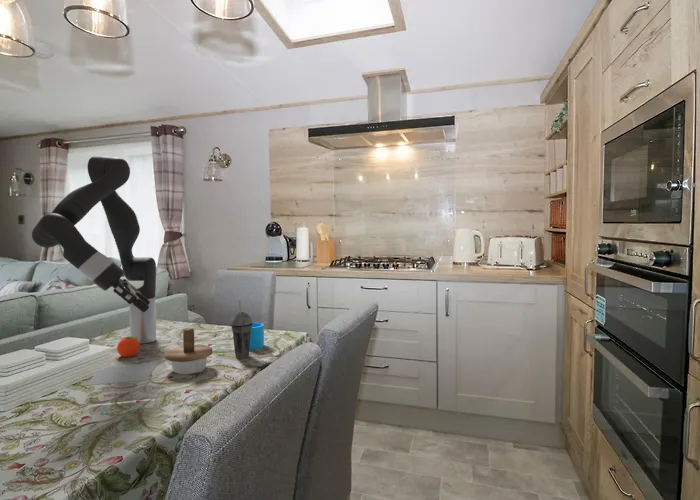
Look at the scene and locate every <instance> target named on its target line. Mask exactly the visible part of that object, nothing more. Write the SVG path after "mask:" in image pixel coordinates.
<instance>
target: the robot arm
mask: <svg viewBox="0 0 700 500" xmlns="http://www.w3.org/2000/svg"><path fill="white" fill-rule="evenodd" d="M87 174H88V176H89V179H90V181H91V182H90V183H87V184H85V185H83V186H80V187H78V188H77V189H74V190H72V191H71V192H70V193H68V194H67V195H65V196H64V198H62V200H61V201H60V202H59V203H57V205H56V206H55V207H54V209H53V210H52V211H51V212H50V213H47V214H44V215H43V216H42V217H41V218H40V219H39V220H38V222H37V223H36V225H35V226H34V227H33V228H32V231H31V238H32V240H33V242H34V243H35V244H36V245H37V246H39V247H43V248H52V247H55V246H58V245H60V247H62V249H63V253H62V257H63V258H64V259H65V260H66V261H67V262H68V263H70V265H72V266H73V267H75V268H76V269H77V270H78V271H79V272H80V273H81V274H82V275H83V276H85V278H87V279H88V280H90V281H91V282H92V283H94V284H95V285H96V286H97V287H99V288H100V289H101V290H102V291H105V292H106V291H108V290H109V289H110V288H113V290H112V291H113V293H114V294H116V295H118V296H119V297H120V298H121V299H123V300H124V301H125V302H126V303H127V304H128V305H129V309H128V311H129V337H133V338H135V337H137V339H138V342H139V344H140V345H141V344H148V343H152V342H154V341H157V314H156V313H157V312H156V310H157V309H156V288H157V286H156V285H157V284H156V281H157V263H156V260H155V259H154V258H153V257H150V256H148V257H143V256H140V257H138V256H137V257H135V256H134V254H133V247H134V245H135V244H136V241H137V240H138V237H139V235H140V232H141V231H140V230H141V228H140V223H139V220H138V217H137V214H136V213H135V211H134V210H133V208H132V207H131V206H130V204H129V203H127V202H126V201H125V200H124V199H123V198H122V197H121V196H120V195H119V193H118V192H117V191H116V190H118V189H119V188H121V187H123V186H124V185H125V184H127V182H128V180H129V178H130V175H131V168H130V165H129V163H128V162H127V160H126V159H124V158H120V157H117V156H105V155H95V156H91V157H90V158H89V160H88V161H87ZM99 203H101V206H102V208H103V210H104V214H105V216H106V219H107V223H108V226H109V229H110V232H111V234H112V237H113V239H114V243H115V245H116V248H117V252H118V255H119V259H120V264H121V267H120V266H119V265H118V264H117V263H115V262H114V261H113V260H111V259H110V258H109V257H107V256H106V255H105V254H103V253H101V252H100V251H99V250H98V249H96V248H95V247H94V246H92V244H90V243H89V242H88V241H87V240H86V239H85V238H84V237H83V234H82V233H81V232H80V231H79V230H78V229H77V227H76V225H77V224H78V223H79V222H80V221H81V220H83V218H84V217H85V216H86V215H87V214H88V213H89V212H90V211H91V210H92V209H93V208H94V207H95V206H96V205H97V204H99ZM122 276H124V277H125V278H123V279H122V278H121V277H122ZM130 281H131V282H136V281H137V282H141V281H142V282H143V284H142V285H141V286H140V287H139V288H136V286H134V285H133V284H131V282H130ZM135 339H136V338H135Z"/></svg>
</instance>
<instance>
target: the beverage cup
mask: <svg viewBox="0 0 700 500" xmlns="http://www.w3.org/2000/svg"><path fill="white" fill-rule="evenodd" d="M238 307H239V312H238V313H236V314H235V315H233V317H232V319H231V324H230V327H231V331H232V337H233V339H232V340H233V346H234V354H235V358H236V359H239V360H242V359H243V360H244V359H248V358H249V357H250V352H251V351H250V350H251V349H250V337H251V329H252V324H253V323H254V322H253V319H252V317H251V316H250V315H249V314H248V313H247V312H242V307H241V299H239V300H238Z"/></svg>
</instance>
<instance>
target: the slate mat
mask: <svg viewBox="0 0 700 500" xmlns="http://www.w3.org/2000/svg"><path fill="white" fill-rule="evenodd" d="M157 364H158V362H149V363H133V364H121V365H108V366H109V367H108V368H106V369H103V370H101V369H99V371H97V372H96V373H95V374H94V375H93V376H92V377H91V378H90V379H89V380H88V381H87V382H86V383H85V384H84V386H85V387H86V386H97V385H106V384H110V385H111V384H120V383H129V382H132V383H133V382H143V381H147V380H148V378H149V377H150V376H151V374H152V372H153V371H154V370H155V368H156V366H157Z"/></svg>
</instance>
